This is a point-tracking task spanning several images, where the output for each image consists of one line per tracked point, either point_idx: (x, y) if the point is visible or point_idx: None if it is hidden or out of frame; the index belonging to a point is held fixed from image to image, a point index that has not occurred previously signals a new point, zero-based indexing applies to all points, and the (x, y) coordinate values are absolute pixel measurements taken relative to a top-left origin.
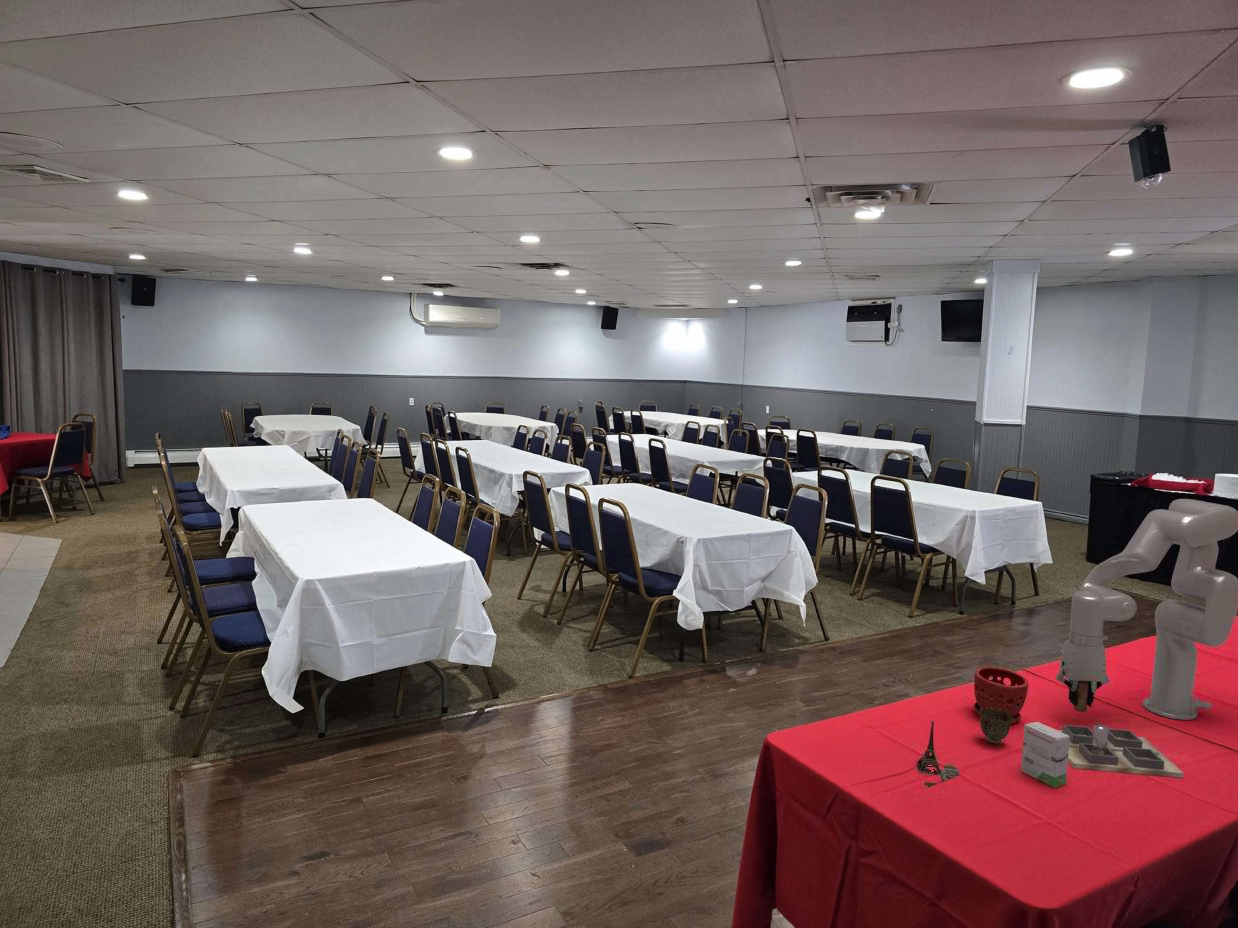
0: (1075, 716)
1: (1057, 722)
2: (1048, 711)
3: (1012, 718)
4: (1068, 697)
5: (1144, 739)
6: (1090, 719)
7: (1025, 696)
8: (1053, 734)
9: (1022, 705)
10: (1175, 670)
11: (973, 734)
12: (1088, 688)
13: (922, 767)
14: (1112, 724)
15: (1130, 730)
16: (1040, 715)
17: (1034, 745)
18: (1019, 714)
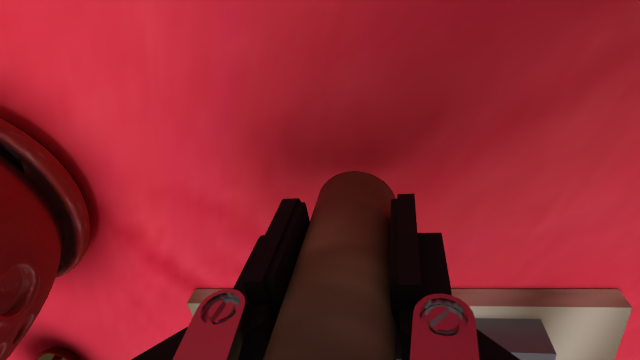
0: (372, 66)
1: (254, 180)
2: (221, 38)
3: (61, 263)
4: (258, 239)
5: (613, 323)
6: (456, 85)
7: (1, 342)
8: None
9: (38, 311)
10: None
11: None
12: (403, 353)
13: None
14: (574, 123)
15: (554, 355)
16: (179, 117)
17: None
18: (75, 225)
